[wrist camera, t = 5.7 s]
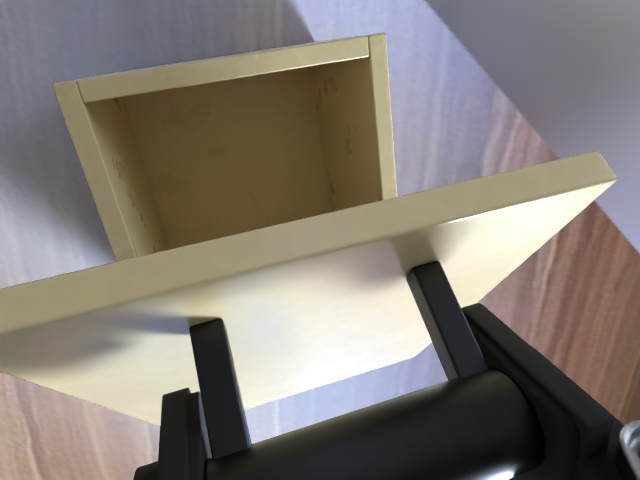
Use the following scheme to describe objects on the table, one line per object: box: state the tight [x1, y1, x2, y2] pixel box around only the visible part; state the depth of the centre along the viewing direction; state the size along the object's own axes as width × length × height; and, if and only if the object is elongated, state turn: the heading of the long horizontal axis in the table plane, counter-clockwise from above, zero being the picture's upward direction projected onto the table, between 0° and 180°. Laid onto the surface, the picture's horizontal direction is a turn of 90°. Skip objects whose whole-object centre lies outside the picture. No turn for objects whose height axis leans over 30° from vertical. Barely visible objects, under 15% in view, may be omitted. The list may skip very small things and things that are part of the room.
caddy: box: [52, 33, 397, 262], centre depth 25 cm, size 16×13×11 cm
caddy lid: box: [0, 151, 617, 480], centre depth 14 cm, size 16×13×5 cm
